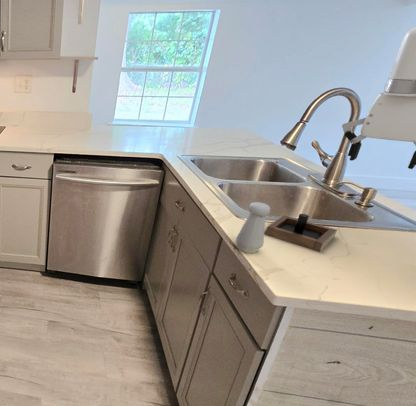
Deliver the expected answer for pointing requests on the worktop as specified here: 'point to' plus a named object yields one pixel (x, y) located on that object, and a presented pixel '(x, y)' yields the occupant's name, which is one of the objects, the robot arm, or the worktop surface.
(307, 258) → the worktop surface
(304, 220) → the peg stand
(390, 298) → the worktop surface
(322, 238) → the walnut frame
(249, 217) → the salt shaker
